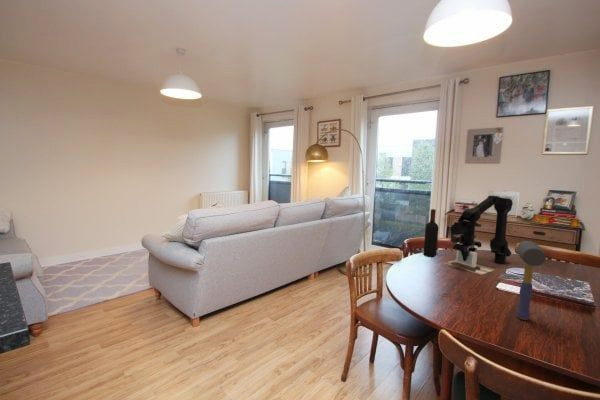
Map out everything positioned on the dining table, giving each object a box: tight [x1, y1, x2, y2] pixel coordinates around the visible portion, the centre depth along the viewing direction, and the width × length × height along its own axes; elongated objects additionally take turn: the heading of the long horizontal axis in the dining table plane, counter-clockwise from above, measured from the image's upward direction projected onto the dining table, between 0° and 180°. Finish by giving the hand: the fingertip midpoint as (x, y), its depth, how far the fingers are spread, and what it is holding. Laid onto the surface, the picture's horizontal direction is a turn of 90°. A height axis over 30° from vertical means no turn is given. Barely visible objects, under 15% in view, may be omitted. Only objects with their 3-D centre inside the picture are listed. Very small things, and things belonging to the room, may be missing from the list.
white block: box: [455, 250, 478, 268], centre depth 166 cm, size 10×3×8 cm, turn 32°
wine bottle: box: [423, 208, 439, 258], centre depth 188 cm, size 8×8×30 cm
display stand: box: [444, 258, 496, 276], centre depth 168 cm, size 15×21×2 cm
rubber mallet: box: [516, 240, 547, 321], centre depth 112 cm, size 12×8×30 cm, turn 152°
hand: (466, 260), depth 166 cm, fingers closed on white block, 3 cm apart
